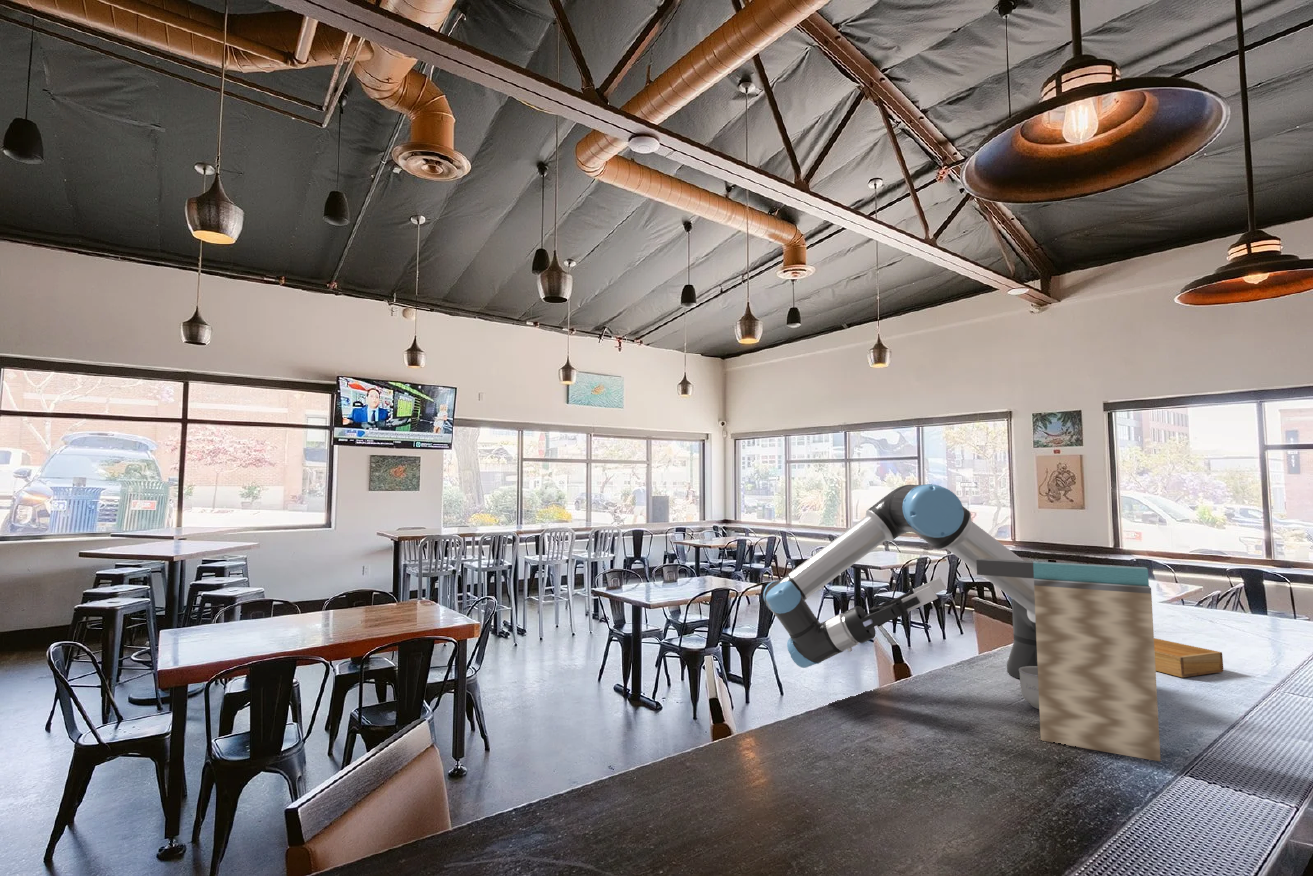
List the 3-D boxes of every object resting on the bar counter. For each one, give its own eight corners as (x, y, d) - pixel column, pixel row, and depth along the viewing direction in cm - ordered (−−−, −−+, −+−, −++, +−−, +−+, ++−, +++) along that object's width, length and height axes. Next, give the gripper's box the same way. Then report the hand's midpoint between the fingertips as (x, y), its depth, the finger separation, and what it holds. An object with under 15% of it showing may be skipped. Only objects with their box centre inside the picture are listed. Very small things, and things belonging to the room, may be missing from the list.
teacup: (1021, 711, 136) (1019, 673, 136) (1019, 696, 145) (1017, 660, 146) (1099, 723, 129) (1098, 683, 130) (1092, 706, 139) (1090, 669, 139)
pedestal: (1040, 740, 121) (1033, 580, 123) (1040, 726, 128) (1034, 574, 130) (1160, 761, 111) (1151, 588, 114) (1153, 745, 118) (1144, 581, 120)
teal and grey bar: (977, 574, 130) (976, 559, 130) (978, 572, 133) (977, 558, 133) (1148, 586, 116) (1147, 569, 116) (1146, 583, 118) (1145, 567, 118)
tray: (1068, 649, 187) (1067, 630, 187) (1107, 645, 192) (1106, 626, 192) (1181, 680, 158) (1180, 657, 158) (1224, 675, 162) (1222, 652, 163)
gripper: (873, 632, 153) (955, 594, 144) (845, 657, 132) (940, 614, 123) (856, 603, 155) (936, 564, 147) (827, 622, 134) (919, 578, 125)
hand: (938, 587), depth 135 cm, fingers open, 13 cm apart
